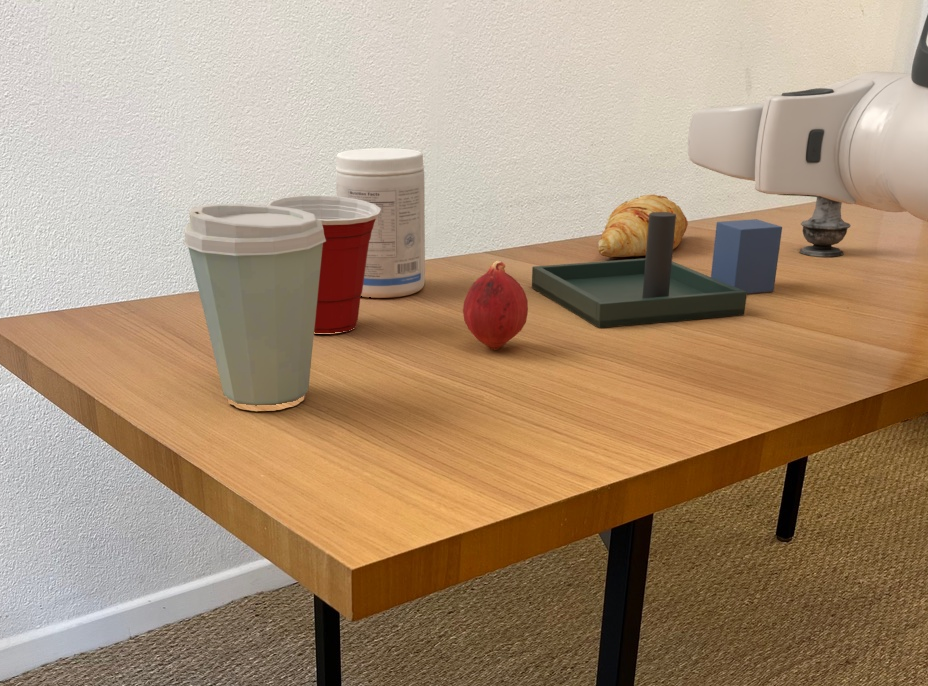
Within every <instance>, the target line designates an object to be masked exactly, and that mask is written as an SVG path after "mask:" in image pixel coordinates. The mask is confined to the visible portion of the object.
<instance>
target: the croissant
mask: <svg viewBox="0 0 928 686" xmlns="http://www.w3.org/2000/svg"><path fill="white" fill-rule="evenodd" d="M653 212H670V213H674V214H676V222H675V233H674V243H673V250H674V249H676V248H677V247H678V246H679V245H680V244H681V241H682V239H683V237H684V235H685V233H686V232H687V229H688V224H689V223H688V219H687V217H686V215H685V213H684V212H683V210H682V208H681V207H680V206H679V205H677V204H676V202H674V201H672V200H670V199H669V198H668V196H664V195H658V194H647V195H645V194H644V195H640V196H639V197H634V198H633V199H630V200H626V201H624V202H622V203H620V205H618V206H617V207H615V208H614V210H613V211H612V212H611V214H610V215H609V216H608V218H607V223H606V224H605V226H604V230H603V231H602V233H601V238H600V239H599V240H598V241H597V244H598V248H597V249H598V253H599V254H600V255H601V256H602V257H607V258H628V257H630V258H631V257H644V256H645V257H646V247H647V235H648V222H649V214H650V213H653Z"/></svg>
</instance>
